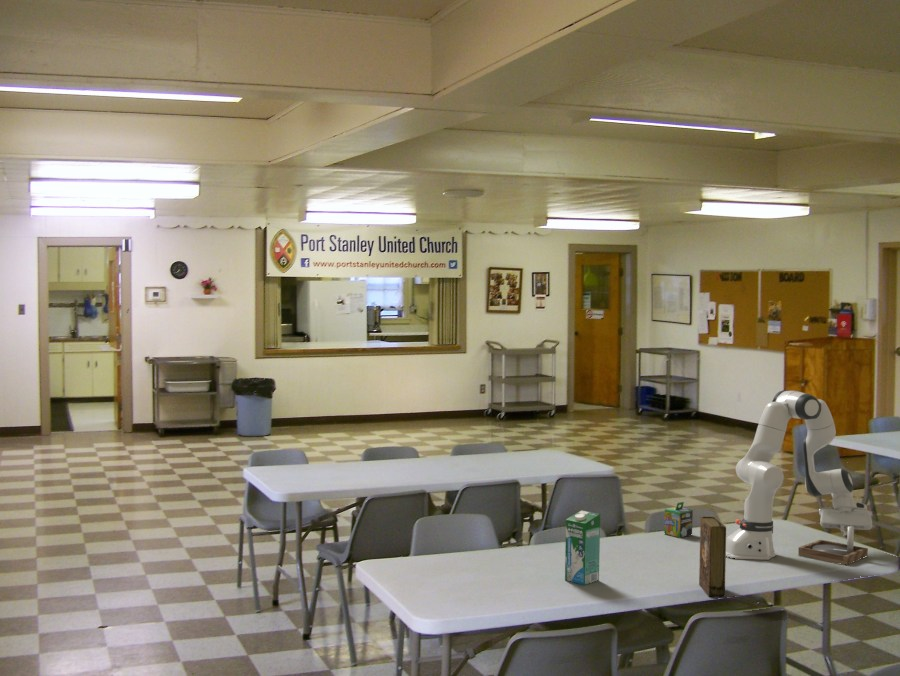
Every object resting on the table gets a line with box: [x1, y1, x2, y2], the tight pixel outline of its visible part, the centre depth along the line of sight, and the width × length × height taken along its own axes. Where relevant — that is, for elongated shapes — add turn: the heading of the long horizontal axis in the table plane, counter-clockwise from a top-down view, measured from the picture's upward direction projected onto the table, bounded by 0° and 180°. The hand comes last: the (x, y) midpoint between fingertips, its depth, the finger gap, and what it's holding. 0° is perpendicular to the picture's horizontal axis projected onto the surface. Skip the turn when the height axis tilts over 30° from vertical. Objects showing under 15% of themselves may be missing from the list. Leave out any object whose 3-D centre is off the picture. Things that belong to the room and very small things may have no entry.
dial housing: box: [798, 539, 869, 565], centre depth 403 cm, size 20×20×4 cm
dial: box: [812, 526, 855, 555], centre depth 403 cm, size 16×16×11 cm
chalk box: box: [663, 501, 694, 538], centre depth 438 cm, size 9×9×15 cm
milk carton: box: [564, 510, 601, 586], centre depth 363 cm, size 9×9×25 cm
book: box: [698, 516, 727, 597], centre depth 352 cm, size 16×6×25 cm, turn 179°
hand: (847, 536), depth 406 cm, fingers closed
